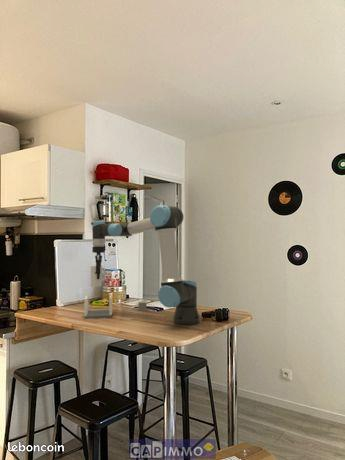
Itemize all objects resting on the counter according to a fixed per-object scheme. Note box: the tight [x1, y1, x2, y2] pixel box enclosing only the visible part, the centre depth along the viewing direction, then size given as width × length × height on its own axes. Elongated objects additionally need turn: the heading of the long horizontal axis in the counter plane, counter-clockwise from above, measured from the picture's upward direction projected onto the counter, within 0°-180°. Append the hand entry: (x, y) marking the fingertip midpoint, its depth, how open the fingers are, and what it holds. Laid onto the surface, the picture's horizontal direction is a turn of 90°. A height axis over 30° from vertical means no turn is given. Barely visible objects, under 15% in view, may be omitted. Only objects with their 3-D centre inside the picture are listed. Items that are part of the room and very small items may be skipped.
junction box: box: [137, 300, 147, 312], centre depth 237 cm, size 6×5×5 cm
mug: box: [90, 265, 107, 288], centre depth 219 cm, size 10×7×12 cm, turn 133°
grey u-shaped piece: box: [83, 294, 113, 320], centre depth 218 cm, size 14×16×12 cm
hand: (98, 283), depth 219 cm, fingers closed on mug, 7 cm apart
